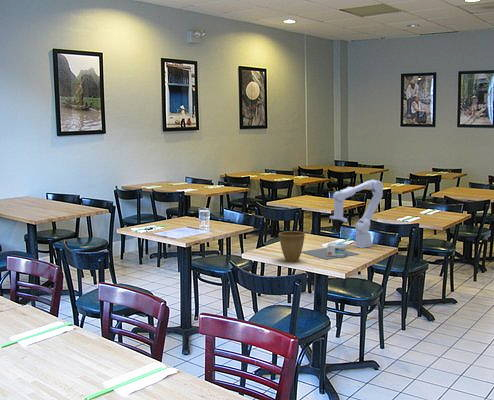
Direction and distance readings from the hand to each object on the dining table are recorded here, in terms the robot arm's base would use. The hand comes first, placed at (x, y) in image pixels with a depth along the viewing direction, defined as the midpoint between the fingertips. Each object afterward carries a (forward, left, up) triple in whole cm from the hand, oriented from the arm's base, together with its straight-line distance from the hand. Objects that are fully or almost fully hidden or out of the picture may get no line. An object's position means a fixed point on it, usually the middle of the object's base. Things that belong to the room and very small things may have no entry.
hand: (338, 231), depth 367 cm
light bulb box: (+12, +13, -7) cm, 19 cm away
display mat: (+16, +10, -10) cm, 22 cm away
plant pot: (+47, +12, -11) cm, 50 cm away
